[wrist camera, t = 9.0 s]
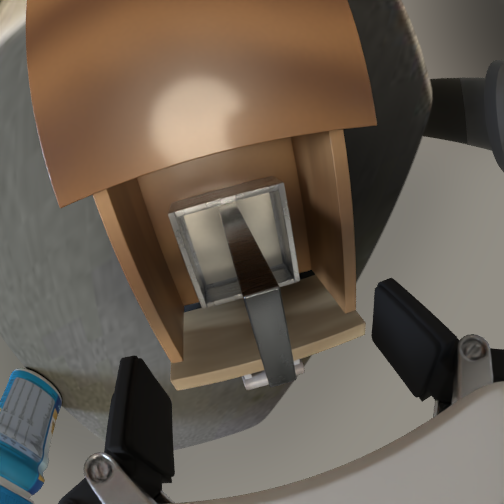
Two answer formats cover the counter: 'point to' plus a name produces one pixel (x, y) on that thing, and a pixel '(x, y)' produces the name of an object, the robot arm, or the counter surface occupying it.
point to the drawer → (234, 313)
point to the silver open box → (243, 260)
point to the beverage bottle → (25, 434)
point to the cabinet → (185, 81)
